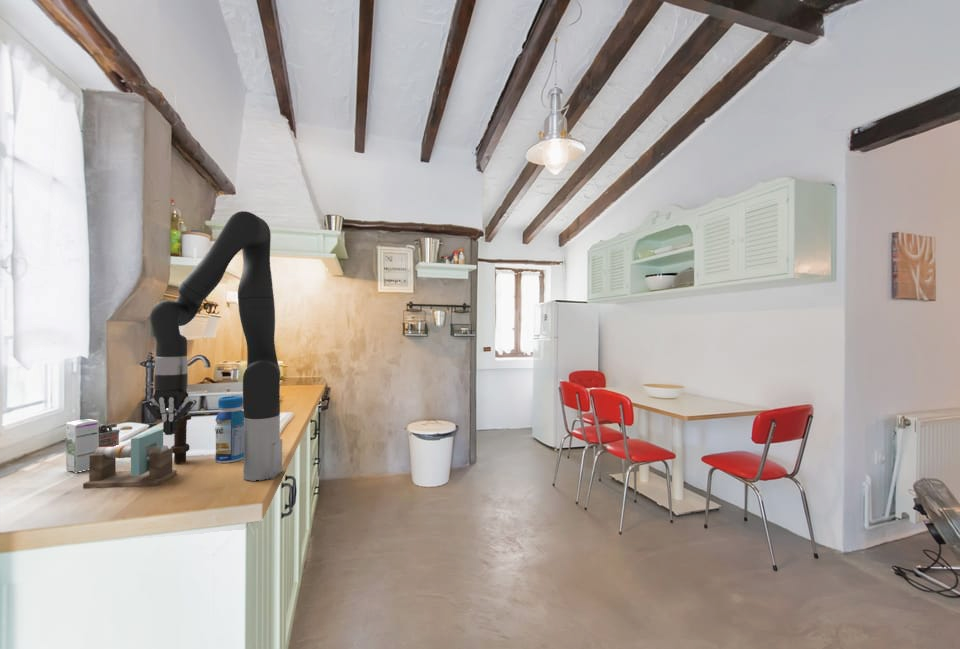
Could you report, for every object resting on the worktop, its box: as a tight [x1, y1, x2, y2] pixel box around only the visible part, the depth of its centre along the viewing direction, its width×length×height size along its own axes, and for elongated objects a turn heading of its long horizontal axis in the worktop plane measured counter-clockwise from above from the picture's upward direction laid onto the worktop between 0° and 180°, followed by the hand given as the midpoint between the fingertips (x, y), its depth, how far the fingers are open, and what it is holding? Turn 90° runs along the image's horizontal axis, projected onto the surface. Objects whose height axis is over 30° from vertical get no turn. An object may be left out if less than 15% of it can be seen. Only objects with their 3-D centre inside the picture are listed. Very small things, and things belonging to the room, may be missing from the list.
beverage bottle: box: [214, 395, 244, 464], centre depth 136 cm, size 8×8×20 cm
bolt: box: [170, 413, 192, 465], centre depth 132 cm, size 6×5×15 cm
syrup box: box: [65, 418, 99, 473], centre depth 126 cm, size 6×6×14 cm
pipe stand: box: [82, 445, 178, 489], centre depth 117 cm, size 18×9×10 cm, turn 96°
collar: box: [130, 428, 164, 476], centre depth 117 cm, size 2×10×10 cm, turn 6°
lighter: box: [98, 422, 121, 447], centre depth 140 cm, size 8×3×10 cm, turn 148°
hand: (170, 434), depth 118 cm, fingers closed
